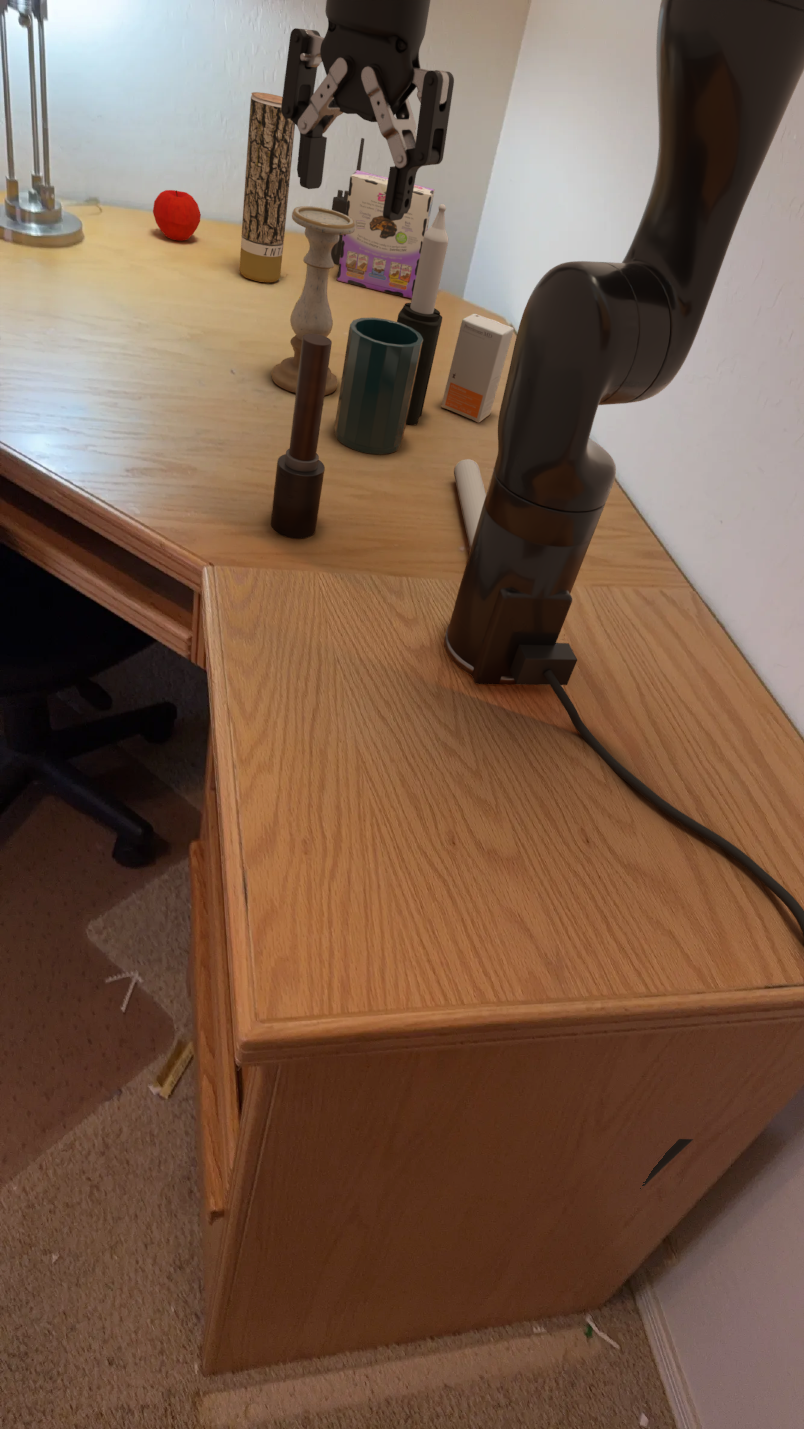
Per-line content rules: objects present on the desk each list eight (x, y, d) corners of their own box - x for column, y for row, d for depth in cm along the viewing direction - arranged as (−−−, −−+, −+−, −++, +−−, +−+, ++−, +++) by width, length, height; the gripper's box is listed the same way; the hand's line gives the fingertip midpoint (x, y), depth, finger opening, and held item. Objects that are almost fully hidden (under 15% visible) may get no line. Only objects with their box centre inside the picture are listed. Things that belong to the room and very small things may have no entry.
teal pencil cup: (407, 457, 107) (430, 350, 98) (340, 451, 104) (357, 341, 96) (393, 426, 113) (414, 322, 104) (329, 419, 110) (345, 313, 102)
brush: (318, 540, 89) (346, 352, 76) (273, 537, 88) (294, 346, 75) (312, 516, 92) (338, 332, 80) (268, 513, 91) (288, 326, 78)
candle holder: (260, 383, 115) (275, 211, 101) (286, 363, 121) (304, 199, 108) (322, 403, 114) (346, 232, 100) (345, 382, 120) (370, 219, 107)
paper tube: (232, 275, 144) (243, 93, 128) (249, 266, 149) (262, 90, 133) (270, 287, 143) (286, 105, 127) (286, 277, 149) (304, 102, 132)
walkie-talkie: (354, 265, 162) (373, 139, 149) (344, 267, 160) (362, 139, 146) (333, 256, 163) (350, 131, 150) (323, 258, 161) (339, 131, 148)
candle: (415, 426, 114) (461, 214, 98) (378, 416, 114) (417, 202, 98) (422, 412, 118) (467, 205, 101) (386, 402, 118) (425, 194, 102)
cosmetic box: (439, 408, 120) (460, 318, 112) (452, 399, 123) (473, 311, 115) (479, 424, 119) (503, 334, 111) (491, 415, 122) (515, 327, 114)
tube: (505, 606, 87) (475, 484, 105) (514, 580, 85) (481, 460, 103) (476, 602, 86) (450, 480, 104) (484, 576, 84) (457, 456, 102)
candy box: (416, 291, 157) (436, 188, 147) (412, 300, 153) (432, 194, 142) (342, 271, 157) (356, 167, 146) (335, 280, 153) (349, 173, 142)
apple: (185, 230, 157) (186, 183, 153) (208, 245, 154) (210, 198, 149) (144, 230, 153) (144, 182, 148) (167, 245, 149) (168, 197, 144)
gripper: (274, -79, 62) (255, 180, 73) (442, -35, 58) (396, 234, 68) (336, -65, 67) (310, 175, 78) (495, -23, 63) (445, 225, 74)
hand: (350, 202), depth 73 cm, fingers open, 8 cm apart
